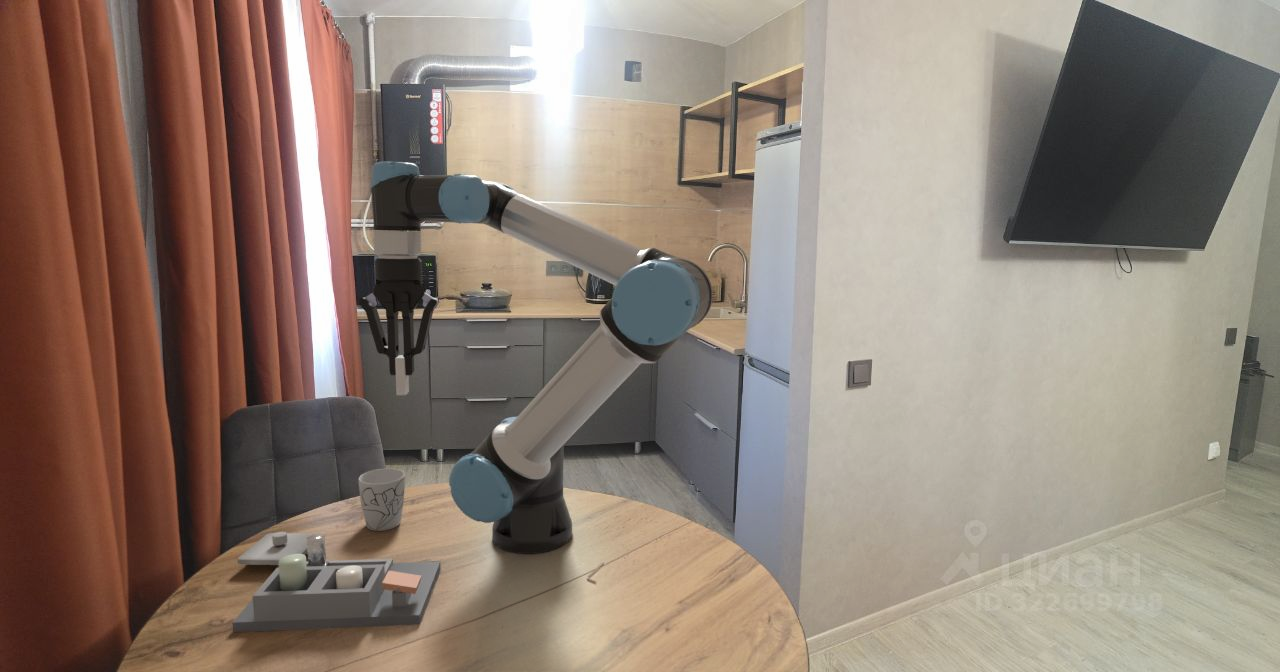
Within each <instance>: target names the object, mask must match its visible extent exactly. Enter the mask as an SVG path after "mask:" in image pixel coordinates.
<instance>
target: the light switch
mask: <svg viewBox="0 0 1280 672" xmlns="http://www.w3.org/2000/svg"><path fill="white" fill-rule="evenodd" d="M314 534H315V533H294V532H293V533H288V532H286V531H278V532H269V533H266V534H264V536H263V537H261V538H260V539H259V540H258V541H256V542H255V543H254V544H253V545H252V546H251V547H249V548H248V549H247V550H246V551H245V552H243V553H242V554H241V555H240V556H239V557H237V564H238V565H251V566H253V565H254V566H255V565H256V566H259V565H261V566H267V565H269V566H279V560H280V559H281V558H283V557H285V556H287V555H291V554H303V555H305V556H306V555H308V552H307V537H309V536H311V535H314Z"/></svg>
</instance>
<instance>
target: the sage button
mask: <svg viewBox="0 0 1280 672" xmlns="http://www.w3.org/2000/svg"><path fill="white" fill-rule="evenodd" d="M306 561H307V557H306V555H303V554H291V555H287V556H285V557H283V558H281V559H280V560H279V565H278V568H279V577H280V588H281V590H283V591H294V590H298V589H300V588H302V587H304V586H305V585H306V584H307V567H306Z"/></svg>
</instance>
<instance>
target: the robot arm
mask: <svg viewBox="0 0 1280 672" xmlns="http://www.w3.org/2000/svg"><path fill="white" fill-rule="evenodd" d="M370 178H371V181H370V182H371V183H370V185H371V186H370V192H371V196H370V197H371V203H372V204H371V205H372V207H371V208H372V216H373V217H372V218H373V225H372V226H373V227H372V228H373V232H372V233H373V234H372V235H373V237H372V238H373V254H374V255H377V257H375V260H373V261H374V281H375V282H374V286H373V287H372V291H371V292H372V293H369V294H368V295H367V296H365V297H362V298H360V299H359V300H358V303H359V305H360V306H361V308H362V310H364V312H365V314H366V318H367V321H368V324H369V328H370V331H371V334H372V338H373V342H374V344H375V348H376V351H377V353H378V354H382V355H385V356H387V357H388V360H389V361H388V363H389V374H390V376H395V389H396V393H395V394H396V396H406V395H408V394H409V392H410V379H409V378H410V377H409V376H412V375H413V374H414V372H415V355H419V354H422V353H423V352H424V351H425V350H426V345H427V341H428V336H429V331H430V327H431V323H432V319H433V314H434V311H435V309H436V308H437V306H438V305H439V303H440V299H439V298H437V297H433V296H431V295H430V294H429V293H427V291H426V288H425V286H424V284H423V262H422V261H423V260H422V259H421V258H419V256H421V255H422V231H421V230H422V228H421V227H422V225H421V223H422V222H423V223H424V222H425V223H426V222H427V223H428V222H430V223H431V222H432V223H433V222H435V223H456V224H480V225H481V224H482V225H486V226H488V227H490V228H492V229H495V230H496V231H498V232H501V233H503V234H505V235H508V236H510V237H512V238H515V239H516V240H519V241H521V242H523V243H525V244H528V245H529V246H532V247H533V248H536V249H537V250H540V251H542V252H544V253H546V254H547V255H550V256H552V257H555V258H557V259H559V260H561V261H563V262H565V263H567V264H569V265H571V266H573V267H576V268H577V269H580V270H582V271H584V272H586V273H589V274H591V275H592V276H595V277H597V278H599V279H600V280H603V281H605V282H607V283H609V284H611V285H613V286H614V290H613V292H612V297H611V298H610V299H609V300H608V301H607V303H605V305H604V306H603V307H602V308H601V309H600V310H599V323H600V325H599V326H598V327H597V328H596V330H594V331H593V332H592V334H591V335H590V336H589V337H588V339H587V340H585V341H584V343H582V345H581V346H580V347H579V348H578V349H577V350H576V352H574V354H573V355H572V356H571V357H570V358H569V359H568V361H567V362H566V363H564V364H563V366H562V367H561V368H560V369H559V370H558V372H556V374H555V375H554V376H553V377H552V378H551V379H550V380H549V381H548V382H547V384H546V385H545V386H544V387H543V388H542V389H541V390H540V391H539V392H538V394H537V395H536V396H535V397H534V398H533V399H531V401H530V402H529V404H527V406H526V407H525V408H524V409H523V410H522V411H521V412H520V413H519V414H518V415H517V416H511V417H510V416H509V417H507V418H504V419H503V420H502V421H500V423H499V424H497V426H496V427H494V429H493V430H492V431H490V432H489V434H488V435H487V436H486V437H485V438H484V439H483V440H482V442H481V443H480V444H479V445H478V446H477V447H476V448H475V449H474V450H473V451H471V452H470V453H468V454H466V455H464V456H461V457H460V458H459V459H458V461H457V462H455V464H454V465H453V466H452V468H451V471H450V473H449V477H448V478H449V479H448V485H449V487H450V495H451V498H452V499H453V502H454V503H455V505H456V507H457V508H458V509H459V510H460V511H461V512H462V513H463V514H464V515H465V516H466V517H468V518H469V519H471V520H474V522H475V521H476V522H478V523H479V522H481V523H484V524H485V523H486V524H491V523H492V527H491V528H492V529H491V532H492V536H491V537H492V541H493V543H494V544H495V545H496V546H497V547H498V548H501V549H503V550H504V551H509V552H513V553H518V554H538V553H545V552H549V551H552V550H556V549H558V548H560V547H563V546H564V545H565V544H567V543H568V542H569V541H570V540H571V539H572V535H573V521H572V517H571V515H570V512H569V509H568V506H567V504H566V500H565V497H564V463H565V462H564V461H565V460H564V455H565V454H564V449H565V443H566V442H567V441H568V440H570V439H571V437H572V436H573V435H574V434H575V433H576V432H577V431H578V430H579V429H580V428H581V427H582V426H583V425H584V423H586V422H587V421H588V420H589V419H590V418H591V417H592V415H594V413H595V412H597V410H598V409H599V408H600V407H601V406H602V405H604V403H605V402H606V401H607V400H608V399H609V398H610V396H612V395H613V394H614V393H615V391H616V390H617V389H618V388H620V386H621V385H622V384H623V383H624V382H625V381H626V380H627V379H628V378H629V377H630V376H631V375H632V374H633V373H634V372H635V370H636V369H637V368H638V367H639V366H640V365H642V364H656V363H657V362H658V361H659V360H660V359H661V358H663V356H664V355H665V354H666V353H667V351H668V350H670V349H671V347H672V346H674V344H676V343H677V342H678V340H679V339H680V338H681V337H682V336H683V335H685V334H686V333H687V332H688V331H689V330H691V329H692V328H694V327H696V326H697V325H698V324H701V322H702V321H703V320H704V319H705V318H706V317H707V316H708V314H709V312H710V310H711V308H712V304H713V298H714V290H713V286H712V282H711V280H710V277H709V275H708V274H707V273H706V272H705V270H704V269H703V268H701V267H700V265H698V264H697V263H695V262H693V261H691V260H688V259H686V258H682V257H677V256H675V255H673V254H670V253H667V252H664V251H662V250H660V249H658V248H656V247H653V246H652V247H649V248H646V249H643V248H640V247H639V246H636V245H633V244H632V243H629V242H627V241H624V240H622V239H621V238H618V237H616V236H614V235H612V234H609V233H607V232H605V231H603V230H601V229H598V228H596V227H595V226H593V225H592V226H591V225H590V224H588V223H585V222H583V221H581V220H578V219H576V218H573V217H572V216H570V215H568V214H566V213H563V212H561V211H559V210H556V209H555V208H552V207H550V206H548V205H545V204H544V203H541V202H539V201H537V200H534V199H532V198H530V197H527V196H525V195H524V194H521V193H518V192H516V190H515V189H514V188H512V187H511V186H509V185H508V184H505V183H502V182H499V181H489V180H482V178H480V177H479V176H477V175H467V174H462V173H455V174H439V175H438V174H437V175H434V174H433V175H432V174H431V175H430V174H429V175H423V174H421V173H420V168H419V166H418V165H417V164H415V163H412V162H403V161H378V162H375V163H374V164H373V165H372V167H371V177H370ZM377 301H378V302H377ZM421 301H422V306H423V307H424V309H423V311H422V316H421V320H420V325H419V329H418V333H417V338H416V344H415V332H414V330H415V329H414V327H415V326H414V325H415V324H414V316H415V313H414V312H415V311H414V310H415V309H416V308H417V307H418V305H419V304H420V302H421ZM378 303H380V305H381V306H382V307H383V309H384V310H385V318H386V327H387V328H386V330H387V334H386V335H387V337H386V336H385V331H384V329H383V325H382V322H381V319H380V318H381V317H380V315H379V312H378V309H377V304H378ZM399 313H401V318H402V332H403V333H402V335H403V336H402V337H403V338H402V339H403V354H400V353H401V350H400V340H399V339H400V338H399Z"/></svg>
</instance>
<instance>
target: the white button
mask: <svg viewBox="0 0 1280 672" xmlns="http://www.w3.org/2000/svg"><path fill="white" fill-rule="evenodd" d="M336 583H337V589H358V588H363V577H362V568H361V567H360V566H355V565H352V566H346V567H343V568H341V569H339V570H338V571H337V572H336Z"/></svg>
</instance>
